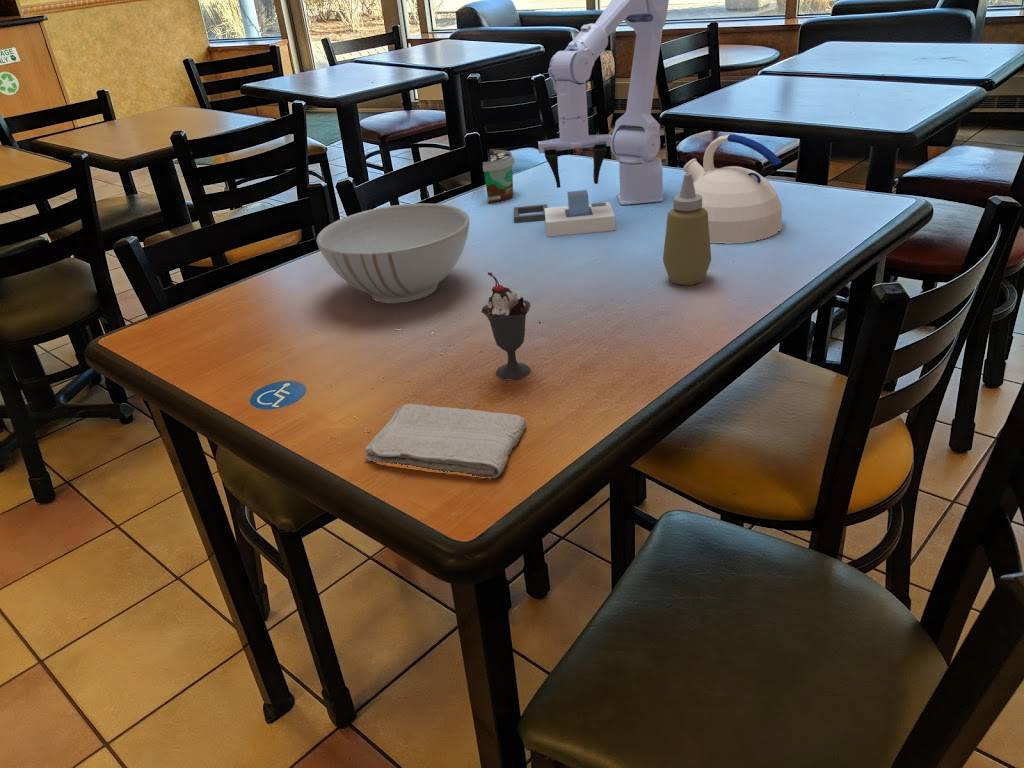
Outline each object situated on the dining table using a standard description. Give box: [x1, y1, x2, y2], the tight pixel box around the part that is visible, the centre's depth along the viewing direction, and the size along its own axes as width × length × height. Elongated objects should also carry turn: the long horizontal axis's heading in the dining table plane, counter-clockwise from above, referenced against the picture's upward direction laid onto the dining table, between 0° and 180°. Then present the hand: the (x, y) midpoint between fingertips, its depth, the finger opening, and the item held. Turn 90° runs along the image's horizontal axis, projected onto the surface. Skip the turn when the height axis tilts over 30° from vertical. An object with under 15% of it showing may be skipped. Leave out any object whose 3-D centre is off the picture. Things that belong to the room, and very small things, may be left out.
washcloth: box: [364, 403, 527, 480], centre depth 96 cm, size 12×18×3 cm, turn 73°
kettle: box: [682, 133, 783, 244], centre depth 151 cm, size 20×21×18 cm
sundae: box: [481, 272, 532, 380], centre depth 108 cm, size 7×7×15 cm
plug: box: [566, 189, 590, 217], centre depth 163 cm, size 4×4×7 cm
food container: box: [482, 149, 515, 204], centre depth 187 cm, size 12×6×10 cm, turn 168°
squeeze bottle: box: [662, 173, 712, 286], centre depth 130 cm, size 8×8×18 cm
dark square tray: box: [513, 203, 549, 224], centre depth 174 cm, size 8×8×1 cm
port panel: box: [544, 201, 616, 237], centre depth 164 cm, size 14×10×3 cm
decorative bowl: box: [316, 203, 470, 304], centre depth 140 cm, size 27×27×12 cm
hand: (577, 184), depth 161 cm, fingers open, 7 cm apart
